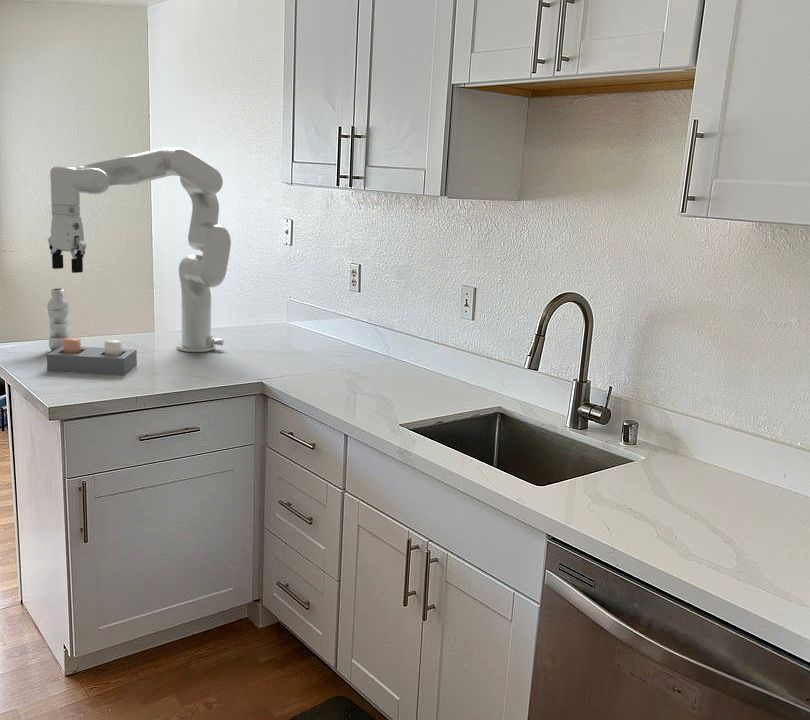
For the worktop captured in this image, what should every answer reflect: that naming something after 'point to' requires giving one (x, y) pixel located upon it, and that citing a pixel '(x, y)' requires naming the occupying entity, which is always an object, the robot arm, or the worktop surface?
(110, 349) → the ivory button
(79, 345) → the terracotta button
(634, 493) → the worktop surface
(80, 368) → the grey two-hole block
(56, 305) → the plastic bottle
